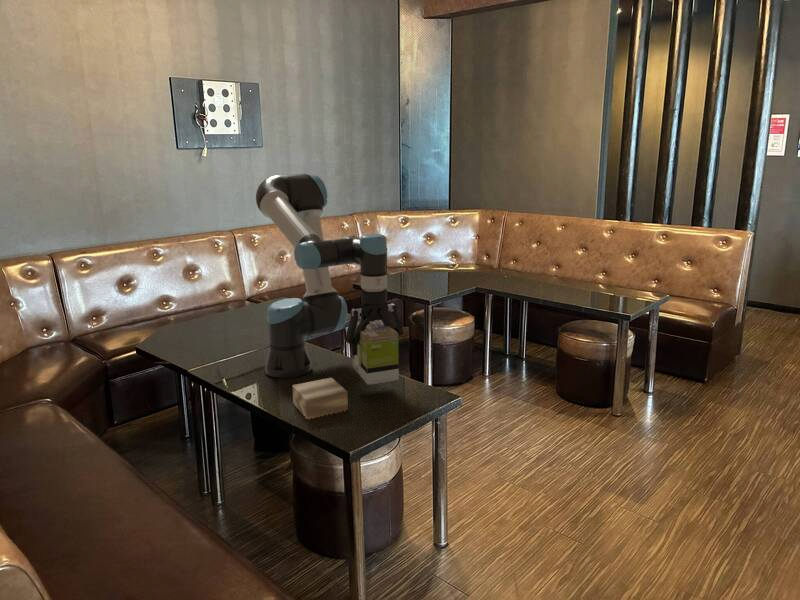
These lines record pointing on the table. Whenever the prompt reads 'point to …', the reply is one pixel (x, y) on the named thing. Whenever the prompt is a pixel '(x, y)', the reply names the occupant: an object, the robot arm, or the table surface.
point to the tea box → (378, 353)
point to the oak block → (320, 398)
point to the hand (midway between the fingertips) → (374, 361)
